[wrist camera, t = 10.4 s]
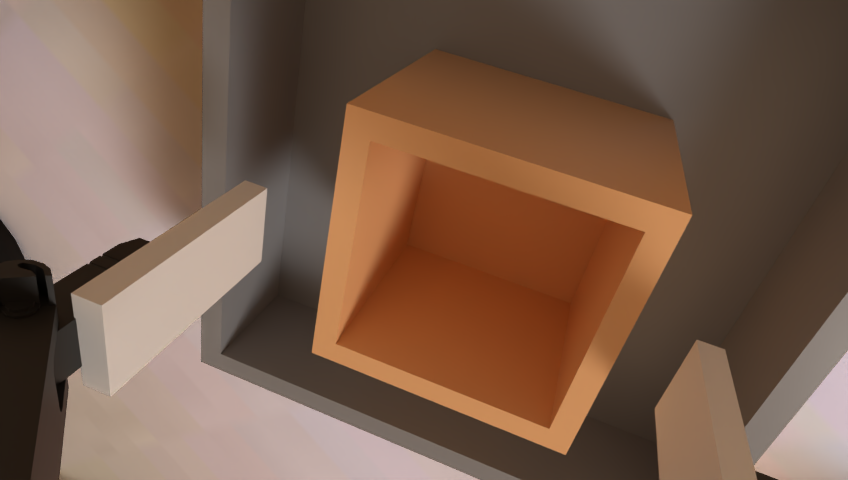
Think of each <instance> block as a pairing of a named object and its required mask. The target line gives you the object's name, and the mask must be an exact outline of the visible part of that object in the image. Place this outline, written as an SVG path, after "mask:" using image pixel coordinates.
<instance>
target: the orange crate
mask: <svg viewBox="0 0 848 480" xmlns="http://www.w3.org/2000/svg"><path fill="white" fill-rule="evenodd" d="M691 217H692V210H691V205H690V200H689V195H688V190H687V185H686V180H685V175H684V170H683V165H682V160H681V155H680V150H679V145H678V140H677V135H676V130H675V125H674V120H671V119H668V118H665V117H661V116H658V115H655V114H651V113H648V112H645V111H641V110H638V109H635V108H631V107H628V106H625V105H621V104H618V103H614V102H611V101H608V100H604V99H601V98H598V97H594V96H591V95H588V94H584V93H581V92H578V91H574V90H571V89H568V88H564V87H561V86H558V85H554V84H551V83H547V82H544V81H541V80H537V79H534V78H531V77H527V76H524V75H521V74H517V73H514V72H511V71H507V70H504V69H501V68H497V67H494V66H490V65H487V64H484V63H480V62H477V61H474V60H470V59H467V58H464V57H460V56H457V55H454V54H450V53H447V52H444V51H440V50H437V49H435V50H433V51H431V52H430V53H428V54H427V55H425V56H423V57H422V58H420V59H418V60H417V61H415V62H413V63H412V64H410V65H409V66H407V67H405V68H404V69H402V70H400V71H399V72H397V73H396V74H394V75H392V76H391V77H389V78H387V79H386V80H384V81H382V82H381V83H379V84H378V85H376V86H374V87H373V88H371V89H369V90H368V91H366V92H365V93H363V94H361V95H360V96H358V97H356V98H355V99H353V100H352V101H350V102H348V103H347V105H346V113H345V120H344V127H343V134H342V141H341V148H340V155H339V162H338V169H337V176H336V183H335V191H334V198H333V205H332V212H331V219H330V226H329V233H328V240H327V247H326V254H325V262H324V269H323V276H322V283H321V290H320V297H319V304H318V311H317V318H316V325H315V332H314V340H313V347H312V353H314V354H316V355H319V356H321V357H324V358H326V359H329V360H331V361H334V362H336V363H339V364H341V365H344V366H346V367H349V368H351V369H354V370H356V371H359V372H361V373H364V374H366V375H368V376H371V377H373V378H376V379H378V380H381V381H383V382H386V383H388V384H391V385H393V386H396V387H398V388H401V389H403V390H406V391H408V392H411V393H413V394H416V395H418V396H420V397H423V398H425V399H428V400H430V401H433V402H435V403H438V404H440V405H443V406H445V407H448V408H450V409H453V410H455V411H458V412H460V413H463V414H465V415H468V416H470V417H473V418H475V419H477V420H480V421H482V422H485V423H487V424H490V425H492V426H495V427H497V428H500V429H502V430H505V431H507V432H510V433H512V434H515V435H517V436H520V437H522V438H525V439H527V440H529V441H532V442H534V443H537V444H539V445H542V446H544V447H547V448H549V449H552V450H554V451H557V452H559V453H562V454H564V455H566V453H567V451H568V450H569V448H570V446H571V444H572V442H573V440H574V438H575V436H576V434H577V433H578V431H579V429H580V427H581V425H582V423H583V421H584V419H585V417H586V416H587V414H588V412H589V410H590V408H591V406H592V404H593V402H594V400H595V399H596V397H597V395H598V393H599V391H600V389H601V387H602V385H603V383H604V381H605V380H606V378H607V376H608V374H609V372H610V370H611V368H612V366H613V364H614V363H615V361H616V359H617V357H618V355H619V353H620V351H621V349H622V347H623V346H624V344H625V342H626V340H627V338H628V336H629V334H630V332H631V330H632V329H633V327H634V325H635V323H636V321H637V319H638V317H639V315H640V313H641V311H642V310H643V308H644V306H645V304H646V302H647V300H648V298H649V296H650V294H651V293H652V291H653V289H654V287H655V285H656V283H657V281H658V279H659V277H660V276H661V274H662V272H663V270H664V268H665V266H666V264H667V262H668V260H669V259H670V257H671V255H672V253H673V251H674V249H675V247H676V245H677V243H678V241H679V240H680V238H681V236H682V234H683V232H684V230H685V228H686V226H687V224H688V223H689V221H690V219H691Z"/></svg>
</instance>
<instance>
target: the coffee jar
mask: <svg viewBox="0 0 848 480" xmlns="http://www.w3.org/2000/svg"><path fill="white" fill-rule="evenodd" d="M12 260H25V259H24V257H23V255H22V253H21V251H20V249H19V247H18V244H17V242H16V240H15V239H14V238H13V236H12V235H11V234H10V232H9V231H8V230H7V228H6V227H5V226H4V224H3V223H2V221H1V220H0V263H2V262H5V261H12Z"/></svg>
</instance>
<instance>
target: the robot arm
mask: <svg viewBox="0 0 848 480" xmlns="http://www.w3.org/2000/svg"><path fill="white" fill-rule="evenodd" d="M266 198H267V188H265V187H263V186H260V185H257V184H254V183H251V182H248V181H246V180H245V181H243V182H242V183H240V184H239V185H237V186H236V187H234V188H233V189H231V190H230V191H228V192H226V193H225V194H223V195H222V196H220V197H219V198H217V199H216V200H214V201H213V202H211V203H209V204H208V205H206V206H205V207H203V208H202V209H200V210H199V211H197V212H196V213H194V214H192V215H191V216H189V217H188V218H186V219H185V220H183V221H182V222H180V223H179V224H177V225H175V226H174V227H172V228H171V229H169V230H168V231H166V232H165V233H163V234H162V235H160V236H158V237H157V238H155V239H154V240H152V241H151V242H149V241H146V240H144V239H141V238H138V239H135V240H131V241H128V242H125V243H121V244H118V245H117V246H115V247H114V248H112V249H110V250H109V251H107V252H105V253H104V254H103V256H99V257H97V258H96V259H94V260H92V261H91V262H90V264H86V265H84V266H83V267H81V268H79V269H78V270H76V271H74V272H73V273H71V274H69V275H68V276H66V277H65V278H63V279H61V280H60V281H58V282H56V283H55V284H53V280H52V274H51V270H50V268H49V267H47V266H46V265H45V264H44V263H40V262H37V261H34V260H12V261H5V262H2V263H0V480H59V475H60V465H61V455H62V446H63V436H64V427H65V417H66V408H67V398H68V388H69V386H68V380H67V378H68V377H69V376H70V375H71V374H73V373H74V372H75V371H76V370H78V369H79V368H80V367H81V374H82V381H83V385H84V386H86V387H89V388H91V389H93V390H96V391H98V392H100V393H103V394H105V395H107V396H110V397H111V396H112V395H113V394H115V393H116V392H117V391H118V390H119V389H120V388H121V387H122V386H123V385H125V384H126V383H127V382H128V381H129V380H130V379H131V378H132V377H133V376H135V375H136V374H137V373H138V372H139V371H140V370H141V369H142V368H143V367H145V366H146V365H147V364H148V363H149V362H150V361H151V360H152V359H153V358H155V357H156V356H157V355H158V354H159V353H160V352H161V351H162V350H163V349H165V348H166V347H167V346H168V345H169V344H170V343H171V342H172V341H173V340H175V339H176V338H177V337H178V336H179V335H180V334H181V333H182V332H183V331H185V330H186V329H187V328H188V327H189V326H190V325H191V324H192V323H193V322H195V321H196V320H197V319H198V318H199V317H200V316H201V315H202V314H203V313H205V312H206V311H207V310H208V309H209V308H210V307H211V306H212V305H213V304H215V303H216V302H217V301H218V300H219V299H220V298H221V297H222V296H223V295H224V294H226V293H227V292H228V291H229V290H230V289H231V288H232V287H233V286H234V285H236V284H237V283H238V282H239V281H240V280H241V279H242V278H243V277H244V276H246V275H247V274H248V273H249V272H250V271H251V270H252V269H253V268H254V267H256V266H257V265H258V264H259V263H260V262H261V260H262V248H263V235H264V223H265V211H266ZM655 421H656V436H657V450H658V465H659V480H777V479H775V478H772V477H770V476H767V475H764V474H762V473H759V472H756V471H755V468H754V464H753V460H752V456H751V452H750V448H749V444H748V440H747V436H746V432H745V428H744V424H743V420H742V416H741V412H740V408H739V404H738V400H737V396H736V392H735V387H734V383H733V379H732V375H731V371H730V367H729V363H728V359H727V355H726V351H725V349H722V348H719V347H717V346H714V345H711V344H708V343H705V342H702V341H700V340H696V342H695V343H694V345H693V346H692V348H691V350H690V351H689V353H688V355H687V356H686V358H685V360H684V361H683V363H682V364H681V366H680V368H679V369H678V371H677V373H676V374H675V376H674V378H673V379H672V381H671V383H670V384H669V386H668V387H667V389H666V391H665V392H664V394H663V396H662V397H661V399H660V401H659V402H658V404H657V405H656V407H655Z"/></svg>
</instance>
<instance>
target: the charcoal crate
mask: <svg viewBox="0 0 848 480" xmlns="http://www.w3.org/2000/svg"><path fill="white" fill-rule="evenodd" d="M435 49H437V50H440V51H444V52H447V53H450V54H454V55H457V56H460V57H464V58H467V59H470V60H474V61H477V62H480V63H484V64H487V65H490V66H494V67H497V68H501V69H504V70H507V71H511V72H514V73H517V74H521V75H524V76H527V77H531V78H534V79H537V80H541V81H544V82H547V83H551V84H554V85H558V86H561V87H564V88H568V89H571V90H574V91H578V92H581V93H584V94H588V95H591V96H594V97H598V98H601V99H604V100H608V101H611V102H614V103H618V104H621V105H625V106H628V107H631V108H635V109H638V110H641V111H645V112H648V113H651V114H655V115H658V116H661V117H665V118H668V119H671V120H674V125H675V130H676V135H677V140H678V145H679V150H680V155H681V160H682V165H683V170H684V175H685V180H686V185H687V190H688V195H689V200H690V205H691V210H692V217H691V219H690V221H689V223H688V224H687V226H686V228H685V230H684V232H683V234H682V236H681V238H680V240H679V241H678V243H677V245H676V247H675V249H674V251H673V253H672V255H671V257H670V259H669V260H668V262H667V264H666V266H665V268H664V270H663V272H662V274H661V276H660V277H659V279H658V281H657V283H656V285H655V287H654V289H653V291H652V293H651V294H650V296H649V298H648V300H647V302H646V304H645V306H644V308H643V310H642V311H641V313H640V315H639V317H638V319H637V321H636V323H635V325H634V327H633V329H632V330H631V332H630V334H629V336H628V338H627V340H626V342H625V344H624V346H623V347H622V349H621V351H620V353H619V355H618V357H617V359H616V361H615V363H614V364H613V366H612V368H611V370H610V372H609V374H608V376H607V378H606V380H605V381H604V383H603V385H602V387H601V389H600V391H599V393H598V395H597V397H596V399H595V400H594V402H593V404H592V406H591V408H590V410H589V412H588V414H587V416H586V417H585V419H584V421H583V423H582V425H581V427H580V429H579V431H578V433H577V434H576V436H575V438H574V440H573V442H572V444H571V446H570V448H569V450H568V451H567V453H566V455H564V454H562V453H559V452H557V451H554V450H552V449H549V448H547V447H544V446H542V445H539V444H537V443H534V442H532V441H529V440H527V439H525V438H522V437H520V436H517V435H515V434H512V433H510V432H507V431H505V430H502V429H500V428H497V427H495V426H492V425H490V424H487V423H485V422H482V421H480V420H477V419H475V418H473V417H470V416H468V415H465V414H463V413H460V412H458V411H455V410H453V409H450V408H448V407H445V406H443V405H440V404H438V403H435V402H433V401H430V400H428V399H425V398H423V397H420V396H418V395H416V394H413V393H411V392H408V391H406V390H403V389H401V388H398V387H396V386H393V385H391V384H388V383H386V382H383V381H381V380H378V379H376V378H373V377H371V376H368V375H366V374H364V373H361V372H359V371H356V370H354V369H351V368H349V367H346V366H344V365H341V364H339V363H336V362H334V361H331V360H329V359H326V358H324V357H321V356H319V355H316V354H314V353H312V347H313V340H314V332H315V325H316V318H317V311H318V304H319V297H320V290H321V283H322V276H323V269H324V262H325V254H326V247H327V240H328V233H329V226H330V219H331V212H332V205H333V198H334V191H335V183H336V176H337V169H338V162H339V155H340V148H341V141H342V134H343V127H344V120H345V113H346V105H347V103H348V102H350V101H352V100H353V99H355V98H356V97H358V96H360V95H361V94H363V93H365V92H366V91H368V90H369V89H371V88H373V87H374V86H376V85H378V84H379V83H381V82H382V81H384V80H386V79H387V78H389V77H391V76H392V75H394V74H396V73H397V72H399V71H400V70H402V69H404V68H405V67H407V66H409V65H410V64H412V63H413V62H415V61H417V60H418V59H420V58H422V57H423V56H425V55H427V54H428V53H430V52H431V51H433V50H435ZM245 180H246V181H248V182H251V183H254V184H257V185H260V186H263V187H265V188H267V198H266V211H265V223H264V235H263V248H262V260H261V262H260V263H259V264H258V265H257V266H256V267H254V268H253V269H252V270H251V271H250V272H249V273H248V274H247V275H246V276H244V277H243V278H242V279H241V280H240V281H239V282H238V283H237V284H236V285H234V286H233V287H232V288H231V289H230V290H229V291H228V292H227V293H226V294H224V295H223V296H222V297H221V298H220V299H219V300H218V301H217V302H216V303H215V304H213V305H212V306H211V307H210V308H209V309H208V310H207V311H206V312H205V313H203V314H202V315H201V362H203V363H206V364H208V365H210V366H213V367H215V368H217V369H220V370H222V371H224V372H227V373H229V374H232V375H234V376H236V377H239V378H241V379H243V380H246V381H248V382H250V383H253V384H255V385H258V386H260V387H262V388H265V389H267V390H269V391H272V392H274V393H276V394H279V395H281V396H284V397H286V398H288V399H291V400H293V401H295V402H298V403H300V404H303V405H305V406H307V407H310V408H312V409H314V410H317V411H319V412H321V413H324V414H326V415H329V416H331V417H333V418H336V419H338V420H340V421H343V422H345V423H347V424H350V425H352V426H355V427H357V428H359V429H362V430H364V431H366V432H369V433H371V434H373V435H376V436H378V437H381V438H383V439H385V440H388V441H390V442H392V443H395V444H397V445H400V446H402V447H404V448H407V449H409V450H411V451H414V452H416V453H418V454H421V455H423V456H426V457H428V458H430V459H433V460H435V461H437V462H440V463H442V464H444V465H447V466H449V467H452V468H454V469H456V470H459V471H461V472H463V473H466V474H468V475H470V476H473V477H475V478H478V479H480V480H659V465H658V450H657V436H656V421H655V407H656V405H657V404H658V402H659V401H660V399H661V397H662V396H663V394H664V392H665V391H666V389H667V387H668V386H669V384H670V383H671V381H672V379H673V378H674V376H675V374H676V373H677V371H678V369H679V368H680V366H681V364H682V363H683V361H684V360H685V358H686V356H687V355H688V353H689V351H690V350H691V348H692V346H693V345H694V343H695V342H696V340H700V341H702V342H705V343H708V344H711V345H714V346H717V347H719V348H722V349H725V351H726V355H727V359H728V363H729V367H730V371H731V375H732V379H733V383H734V387H735V392H736V396H737V400H738V404H739V408H740V412H741V416H742V420H743V424H744V428H745V432H746V436H747V440H748V444H749V448H750V452H751V456H752V460H753V464H754V465H755V463H756V462H757V461H758V460H759V458H760V457H761V456H762V455H763V454H764V452H765V451H766V450H767V449H768V447H769V446H770V445H771V444H772V443H773V441H774V440H775V439H776V438H777V436H778V435H779V434H780V433H781V431H782V430H783V429H784V428H785V427H786V425H787V424H788V423H789V422H790V420H791V419H792V418H793V417H794V416H795V414H796V413H797V412H798V411H799V409H800V408H801V407H802V406H803V405H804V403H805V402H806V401H807V400H808V398H809V397H810V396H811V395H812V394H813V392H814V391H815V390H816V389H817V387H818V386H819V385H820V384H821V383H822V381H823V380H824V379H825V378H826V376H827V375H828V374H829V373H830V372H831V370H832V369H833V368H834V367H835V365H836V364H837V363H838V362H839V361H840V359H841V358H842V357H843V356H844V354H845V353H846V352H847V351H848V0H203V72H202V208H203V207H205V206H206V205H208V204H209V203H211V202H213V201H214V200H216V199H217V198H219V197H220V196H222V195H223V194H225V193H226V192H228V191H230V190H231V189H233V188H234V187H236V186H237V185H239V184H240V183H242V182H243V181H245Z"/></svg>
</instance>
